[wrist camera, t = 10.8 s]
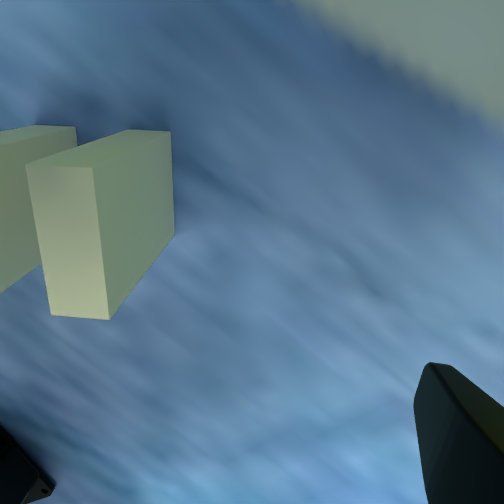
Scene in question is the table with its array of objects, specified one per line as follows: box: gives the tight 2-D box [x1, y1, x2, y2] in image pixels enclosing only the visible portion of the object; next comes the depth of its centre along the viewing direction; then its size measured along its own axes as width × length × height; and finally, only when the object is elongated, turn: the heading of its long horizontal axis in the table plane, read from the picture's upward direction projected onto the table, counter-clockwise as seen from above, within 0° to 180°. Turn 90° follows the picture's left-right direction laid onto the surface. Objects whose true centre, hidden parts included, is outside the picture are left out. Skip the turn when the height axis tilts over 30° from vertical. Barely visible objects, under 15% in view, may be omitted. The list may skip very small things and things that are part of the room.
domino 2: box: [25, 129, 175, 320], centre depth 17 cm, size 2×5×8 cm, turn 178°
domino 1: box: [0, 125, 78, 293], centre depth 17 cm, size 2×5×8 cm, turn 178°
